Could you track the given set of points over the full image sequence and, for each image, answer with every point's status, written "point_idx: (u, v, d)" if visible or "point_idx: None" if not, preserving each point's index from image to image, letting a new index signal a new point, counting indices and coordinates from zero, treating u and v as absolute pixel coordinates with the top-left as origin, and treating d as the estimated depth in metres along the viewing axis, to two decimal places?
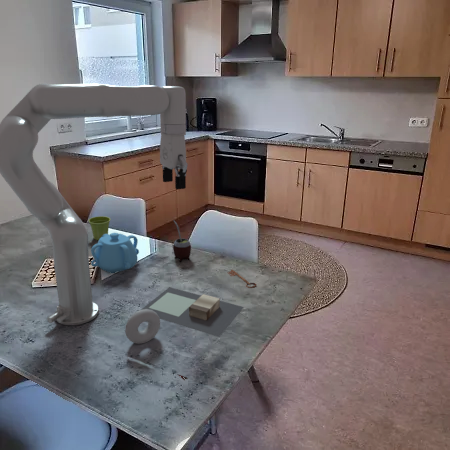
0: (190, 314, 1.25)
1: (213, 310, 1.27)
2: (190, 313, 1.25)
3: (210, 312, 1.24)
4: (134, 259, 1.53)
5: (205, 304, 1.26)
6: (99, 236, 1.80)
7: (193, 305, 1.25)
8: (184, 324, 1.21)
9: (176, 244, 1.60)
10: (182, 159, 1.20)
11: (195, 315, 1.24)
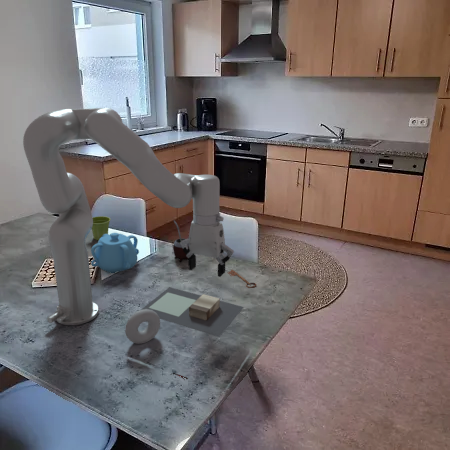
0: (190, 314, 1.25)
1: (213, 310, 1.27)
2: (190, 313, 1.25)
3: (210, 312, 1.24)
4: (134, 259, 1.53)
5: (205, 304, 1.26)
6: (99, 236, 1.80)
7: (193, 305, 1.25)
8: (184, 324, 1.21)
9: (176, 244, 1.60)
10: (186, 239, 1.23)
11: (195, 315, 1.24)
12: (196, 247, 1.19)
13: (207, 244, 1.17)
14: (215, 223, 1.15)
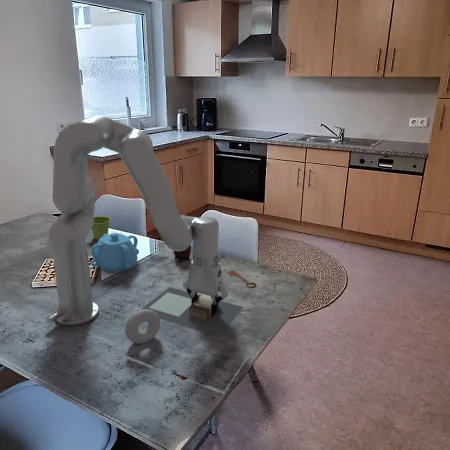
0: (190, 314, 1.25)
1: None
2: (190, 313, 1.25)
3: (210, 312, 1.24)
4: (134, 259, 1.53)
5: (205, 304, 1.26)
6: (99, 236, 1.80)
7: (193, 305, 1.25)
8: (184, 324, 1.21)
9: None
10: None
11: (195, 315, 1.24)
12: (195, 285, 1.24)
13: (206, 283, 1.21)
14: (214, 264, 1.19)
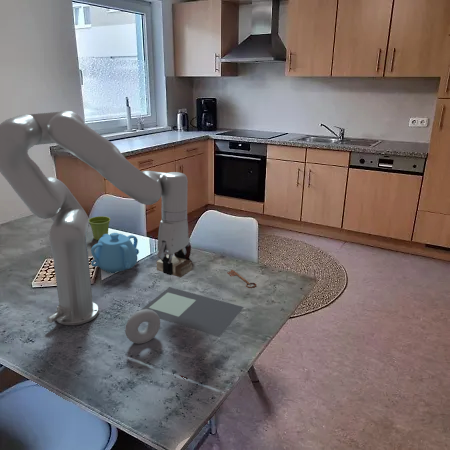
0: (181, 275, 1.22)
1: None
2: (181, 274, 1.22)
3: None
4: (134, 259, 1.53)
5: (177, 260, 1.26)
6: (99, 236, 1.80)
7: (178, 266, 1.22)
8: (184, 324, 1.21)
9: None
10: (161, 248, 1.18)
11: (185, 272, 1.24)
12: (176, 245, 1.21)
13: (184, 236, 1.23)
14: None
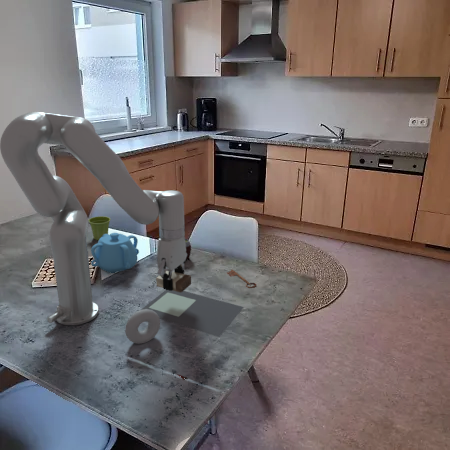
0: (182, 290, 1.25)
1: None
2: (182, 289, 1.25)
3: None
4: (134, 259, 1.53)
5: (176, 276, 1.28)
6: (99, 236, 1.80)
7: (178, 281, 1.25)
8: (184, 324, 1.21)
9: None
10: (161, 266, 1.21)
11: (185, 287, 1.26)
12: (175, 262, 1.23)
13: (182, 252, 1.26)
14: None
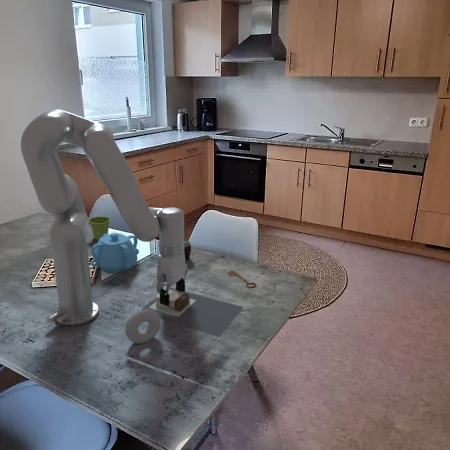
0: (180, 309, 1.27)
1: None
2: (180, 308, 1.27)
3: None
4: (134, 259, 1.53)
5: (175, 295, 1.31)
6: (99, 236, 1.80)
7: (177, 301, 1.27)
8: (184, 324, 1.21)
9: None
10: (160, 280, 1.22)
11: (183, 306, 1.29)
12: (175, 277, 1.25)
13: (181, 268, 1.28)
14: None
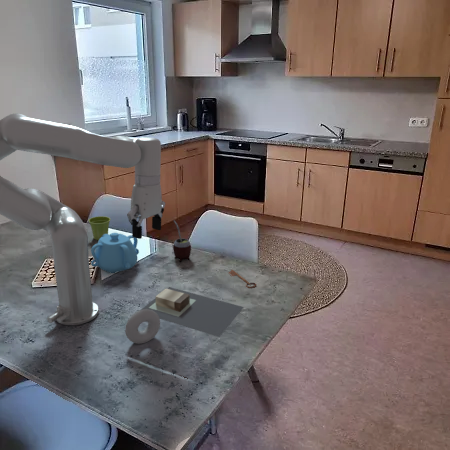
0: (180, 309, 1.27)
1: None
2: (180, 308, 1.27)
3: None
4: (134, 259, 1.53)
5: (175, 295, 1.31)
6: (99, 236, 1.80)
7: (177, 301, 1.27)
8: (184, 324, 1.21)
9: (176, 244, 1.60)
10: (132, 209, 1.19)
11: (183, 306, 1.29)
12: (149, 210, 1.22)
13: (157, 202, 1.25)
14: None
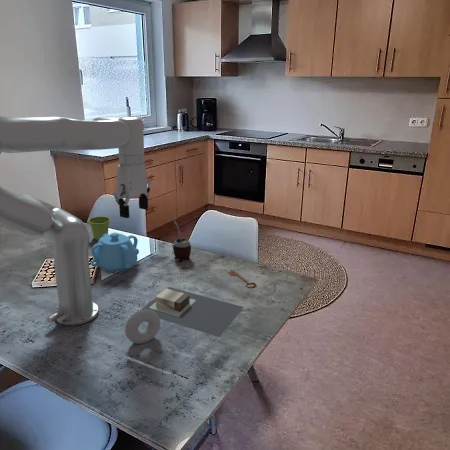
0: (180, 309, 1.27)
1: None
2: (180, 308, 1.27)
3: None
4: (134, 259, 1.53)
5: (175, 295, 1.31)
6: (99, 236, 1.80)
7: (177, 301, 1.27)
8: (184, 324, 1.21)
9: (176, 244, 1.60)
10: (118, 189, 1.21)
11: (183, 306, 1.29)
12: (135, 189, 1.24)
13: (142, 181, 1.26)
14: None
